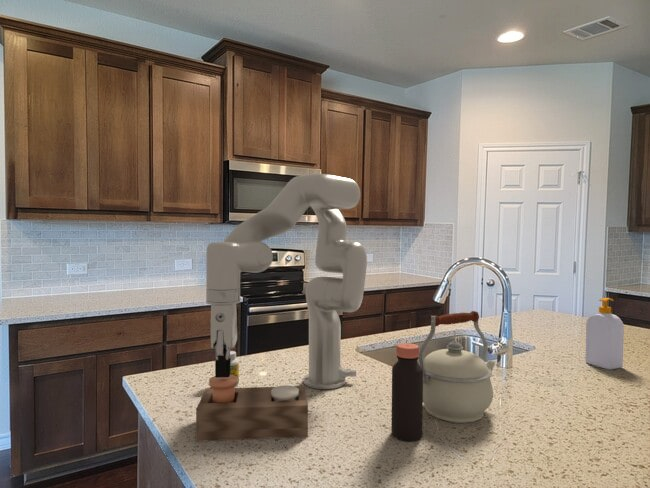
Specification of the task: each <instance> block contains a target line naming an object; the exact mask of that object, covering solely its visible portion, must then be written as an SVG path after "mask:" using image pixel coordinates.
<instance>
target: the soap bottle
mask: <svg viewBox="0 0 650 488" xmlns="http://www.w3.org/2000/svg"><path fill="white" fill-rule="evenodd" d="M598 301H599V302H602V305H601V306H598V313H597V314H593V315H590V316H588V318H587V320H586V322H585V324H586V325H585V327H586V328H585V357H584V359H585V361H584V362H585V363H586V364H589V365H592V366H594V367H598V368H599V367H600V368H602V369H605V370H609V371H611V370H615V369H621V368H623V366H624V365H623V364H624V332H625V331H624V330H625V327H624V326H625V325H624V322H623V321H622V320H621V318H620V317H619V316H618V315H616V314H613V313H612V307H611V306H608V301H611V302H612V301H615V300H614V299H613V298H610V297H602V298H600V299H599V300H598Z"/></svg>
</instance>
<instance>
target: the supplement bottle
mask: <svg viewBox="0 0 650 488" xmlns="http://www.w3.org/2000/svg"><path fill="white" fill-rule="evenodd" d="M229 358H231V362H230V375H235V376H237V377H238V384H237V385H235V388H237V387H238V385H240V383H239V381H240V380H239V377H240V374H239V371H240V370H239V369H240V368H239V366H240V364H239V363H240V362H239V359H238V358H237V352H236V351H234V350H230V357H229Z"/></svg>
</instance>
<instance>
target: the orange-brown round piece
mask: <svg viewBox="0 0 650 488" xmlns="http://www.w3.org/2000/svg"><path fill="white" fill-rule="evenodd" d="M237 384H238V377H237V376H235V375H230V376H229V377H219V378H217V377H215V375H214V376H212V377H210V378H209V379H208V385H209V387H211V389H212V403H235V388H236V387H235V385H237ZM238 385H239V384H238ZM238 385H237V386H238Z"/></svg>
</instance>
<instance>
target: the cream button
mask: <svg viewBox="0 0 650 488" xmlns="http://www.w3.org/2000/svg"><path fill="white" fill-rule="evenodd" d="M294 386H295V385H279V386H274V387H275V388H273V389H272V390H271V396H272V397H273V398H274V401H296V397H298V395H299V389H298V388H297V387H294Z"/></svg>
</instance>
